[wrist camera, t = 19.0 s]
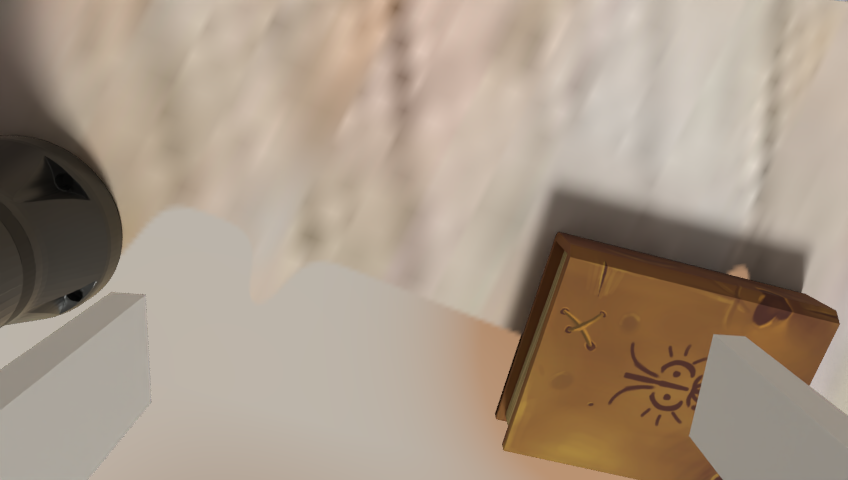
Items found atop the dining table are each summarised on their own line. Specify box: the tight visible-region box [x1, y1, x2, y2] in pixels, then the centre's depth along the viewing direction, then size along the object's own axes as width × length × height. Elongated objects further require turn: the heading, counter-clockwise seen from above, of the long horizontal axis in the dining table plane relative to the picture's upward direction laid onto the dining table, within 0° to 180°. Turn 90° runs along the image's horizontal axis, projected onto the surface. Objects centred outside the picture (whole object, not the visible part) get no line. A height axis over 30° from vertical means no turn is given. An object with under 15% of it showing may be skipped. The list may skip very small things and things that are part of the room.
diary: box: [495, 232, 840, 480], centre depth 50 cm, size 23×19×6 cm
